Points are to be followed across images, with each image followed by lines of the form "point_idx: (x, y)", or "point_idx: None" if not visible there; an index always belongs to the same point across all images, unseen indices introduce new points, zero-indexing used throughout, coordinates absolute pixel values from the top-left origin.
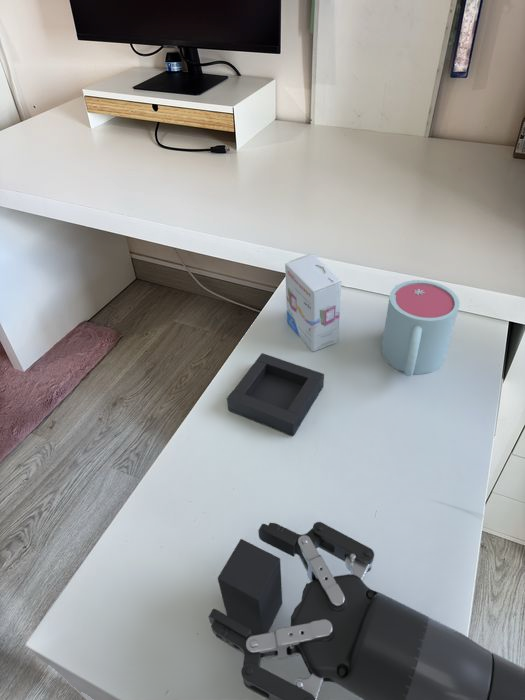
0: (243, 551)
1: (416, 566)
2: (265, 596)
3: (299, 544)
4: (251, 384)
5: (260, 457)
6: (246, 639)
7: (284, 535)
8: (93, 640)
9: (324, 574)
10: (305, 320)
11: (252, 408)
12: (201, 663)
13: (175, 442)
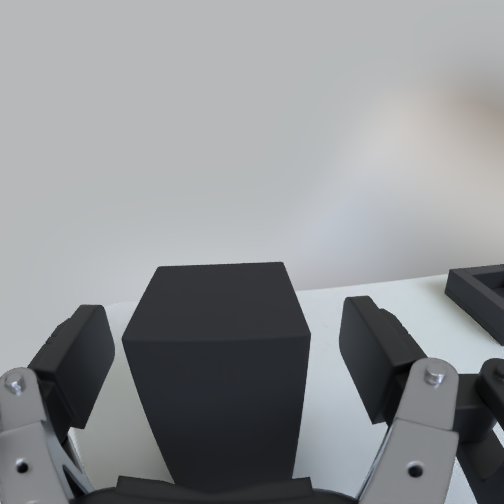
0: (254, 272)
1: None
2: (180, 394)
3: (412, 370)
4: (483, 274)
5: (448, 342)
6: (38, 378)
7: (391, 334)
8: (114, 333)
9: (407, 500)
10: None
11: (472, 286)
12: (117, 439)
13: (367, 284)
